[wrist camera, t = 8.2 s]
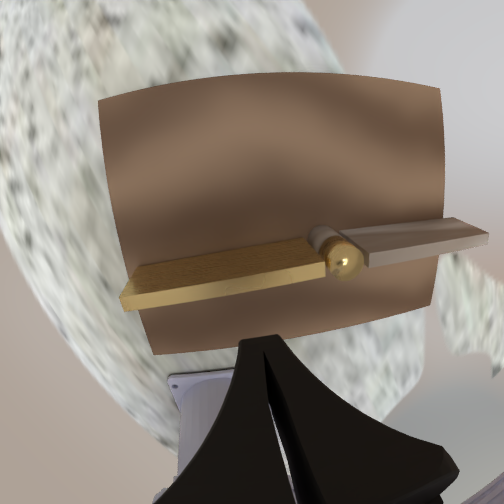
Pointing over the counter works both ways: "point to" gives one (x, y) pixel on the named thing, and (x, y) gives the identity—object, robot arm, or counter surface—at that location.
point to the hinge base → (282, 195)
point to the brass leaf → (239, 272)
